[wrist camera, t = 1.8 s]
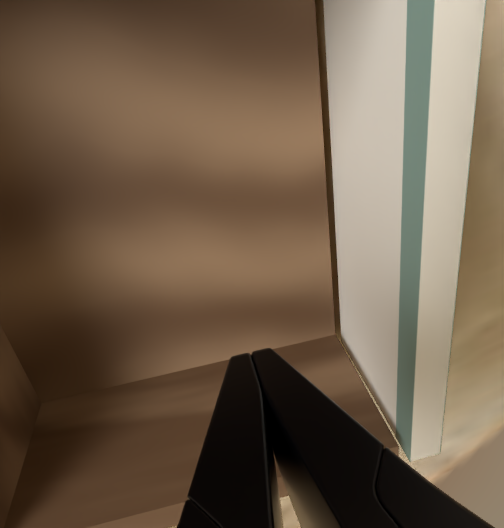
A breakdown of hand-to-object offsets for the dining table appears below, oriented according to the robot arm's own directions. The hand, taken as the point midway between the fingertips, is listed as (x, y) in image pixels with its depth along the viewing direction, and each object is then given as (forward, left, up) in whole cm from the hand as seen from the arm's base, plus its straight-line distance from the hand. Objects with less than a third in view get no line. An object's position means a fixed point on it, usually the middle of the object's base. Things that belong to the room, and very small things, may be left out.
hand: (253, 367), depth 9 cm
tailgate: (0, -6, -11) cm, 12 cm away
